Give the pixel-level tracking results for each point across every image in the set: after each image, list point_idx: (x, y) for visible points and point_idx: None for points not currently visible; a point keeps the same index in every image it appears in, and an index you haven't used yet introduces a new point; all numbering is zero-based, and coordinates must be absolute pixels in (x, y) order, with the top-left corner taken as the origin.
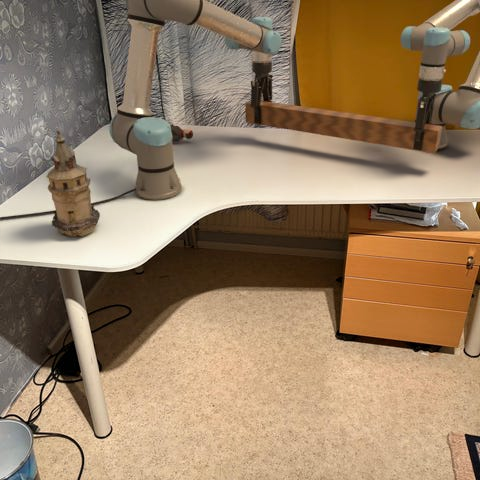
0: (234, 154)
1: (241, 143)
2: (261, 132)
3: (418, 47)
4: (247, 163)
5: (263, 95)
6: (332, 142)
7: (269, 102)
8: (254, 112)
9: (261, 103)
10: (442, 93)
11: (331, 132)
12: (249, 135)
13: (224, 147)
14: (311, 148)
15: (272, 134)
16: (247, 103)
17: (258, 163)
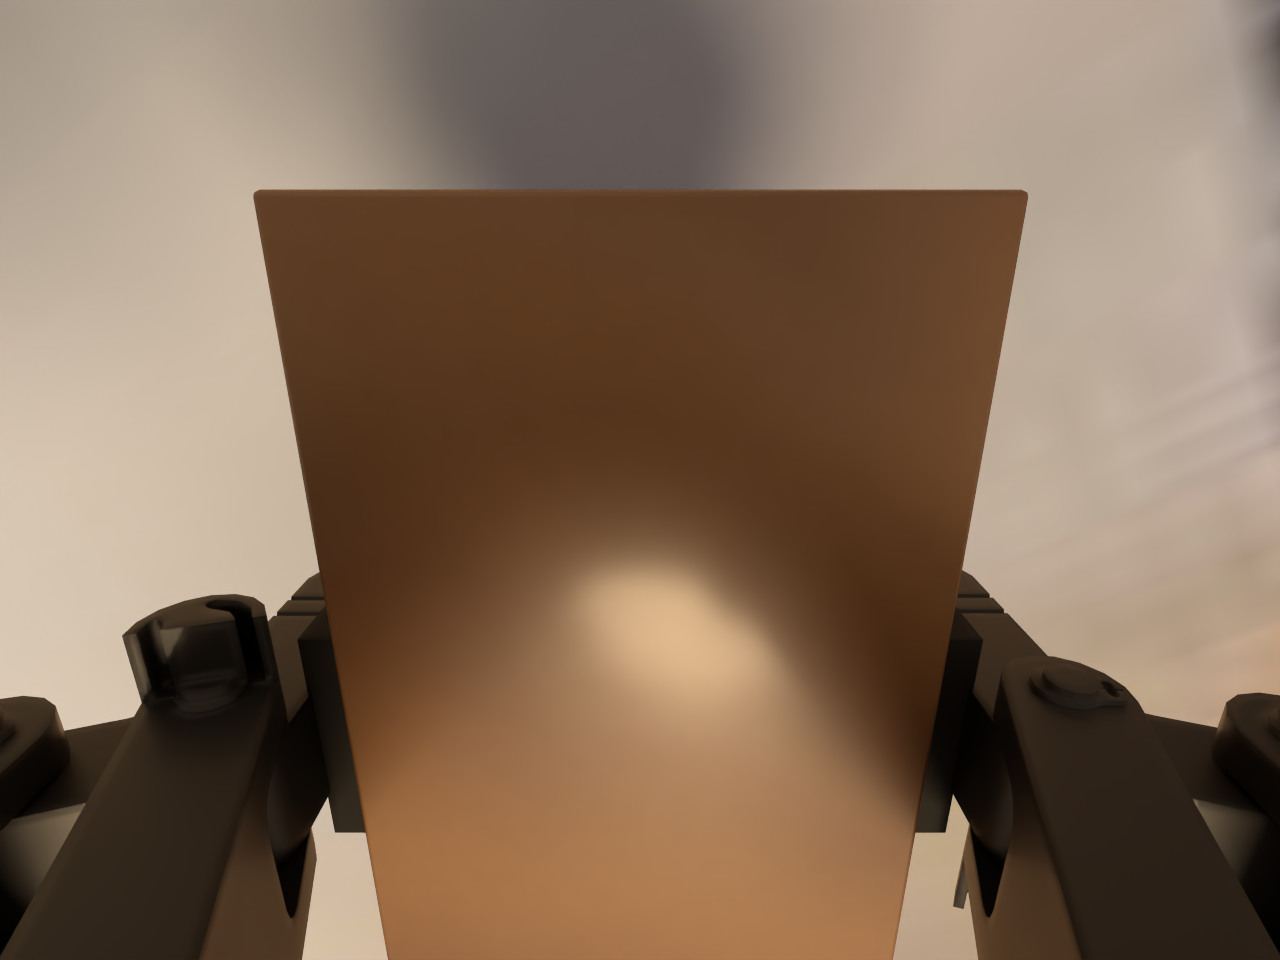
0: (107, 313)
1: (493, 168)
2: (1052, 182)
3: None
4: (12, 577)
5: (1052, 941)
6: (963, 949)
7: (815, 955)
8: (282, 612)
9: (570, 814)
10: None
11: None
12: (858, 83)
13: (213, 26)
14: None
15: (1013, 367)
16: (277, 318)
17: (94, 662)
